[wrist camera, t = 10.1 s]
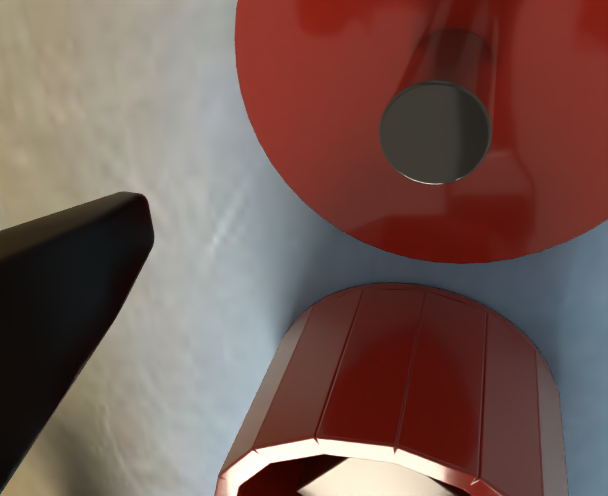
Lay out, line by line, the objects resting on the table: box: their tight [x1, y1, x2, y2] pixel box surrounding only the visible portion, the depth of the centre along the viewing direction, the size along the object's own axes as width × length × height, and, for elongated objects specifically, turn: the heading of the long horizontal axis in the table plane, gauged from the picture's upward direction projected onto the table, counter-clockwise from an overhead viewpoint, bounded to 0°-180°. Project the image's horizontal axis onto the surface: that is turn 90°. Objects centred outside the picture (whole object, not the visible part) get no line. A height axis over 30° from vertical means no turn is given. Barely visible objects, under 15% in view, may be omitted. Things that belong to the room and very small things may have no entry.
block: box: [296, 454, 471, 496], centre depth 22 cm, size 5×5×5 cm
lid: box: [235, 0, 608, 264], centre depth 15 cm, size 13×13×6 cm
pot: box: [214, 283, 569, 496], centre depth 22 cm, size 12×12×7 cm
